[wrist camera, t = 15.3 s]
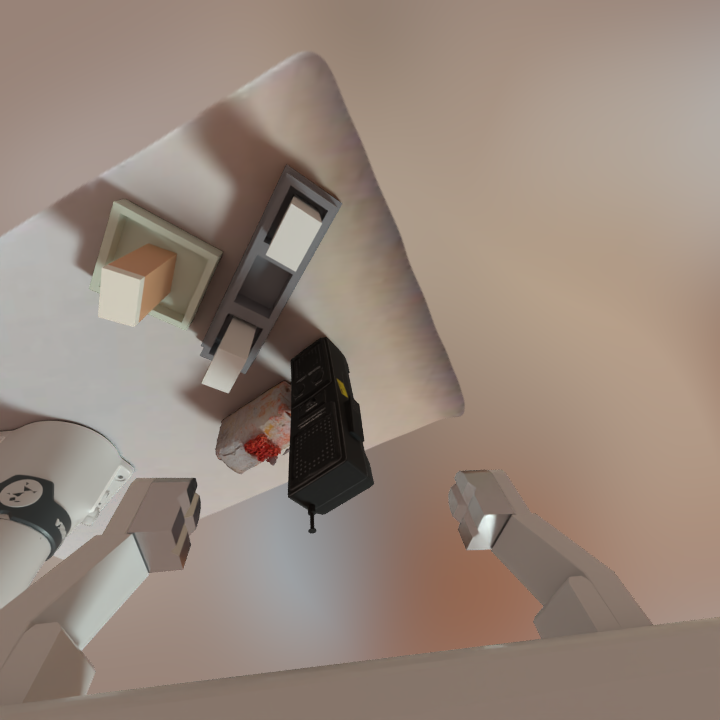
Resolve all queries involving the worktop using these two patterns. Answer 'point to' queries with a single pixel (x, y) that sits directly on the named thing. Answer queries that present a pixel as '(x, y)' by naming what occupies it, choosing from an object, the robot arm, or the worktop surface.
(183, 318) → the tray
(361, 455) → the portable radio
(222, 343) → the fuse block
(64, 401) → the worktop surface
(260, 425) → the food item
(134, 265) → the block
